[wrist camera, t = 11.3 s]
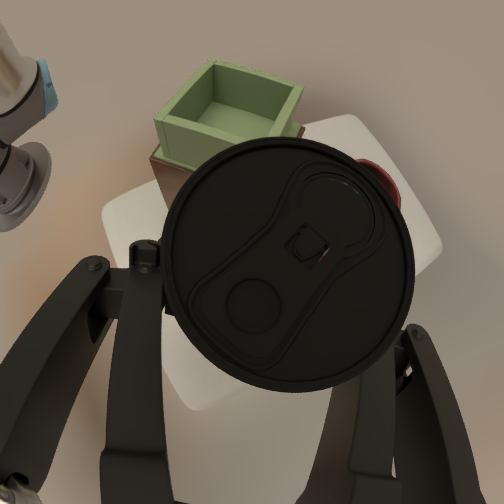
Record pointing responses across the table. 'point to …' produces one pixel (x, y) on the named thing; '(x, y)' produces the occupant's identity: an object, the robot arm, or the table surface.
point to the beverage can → (287, 264)
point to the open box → (224, 112)
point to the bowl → (383, 179)
